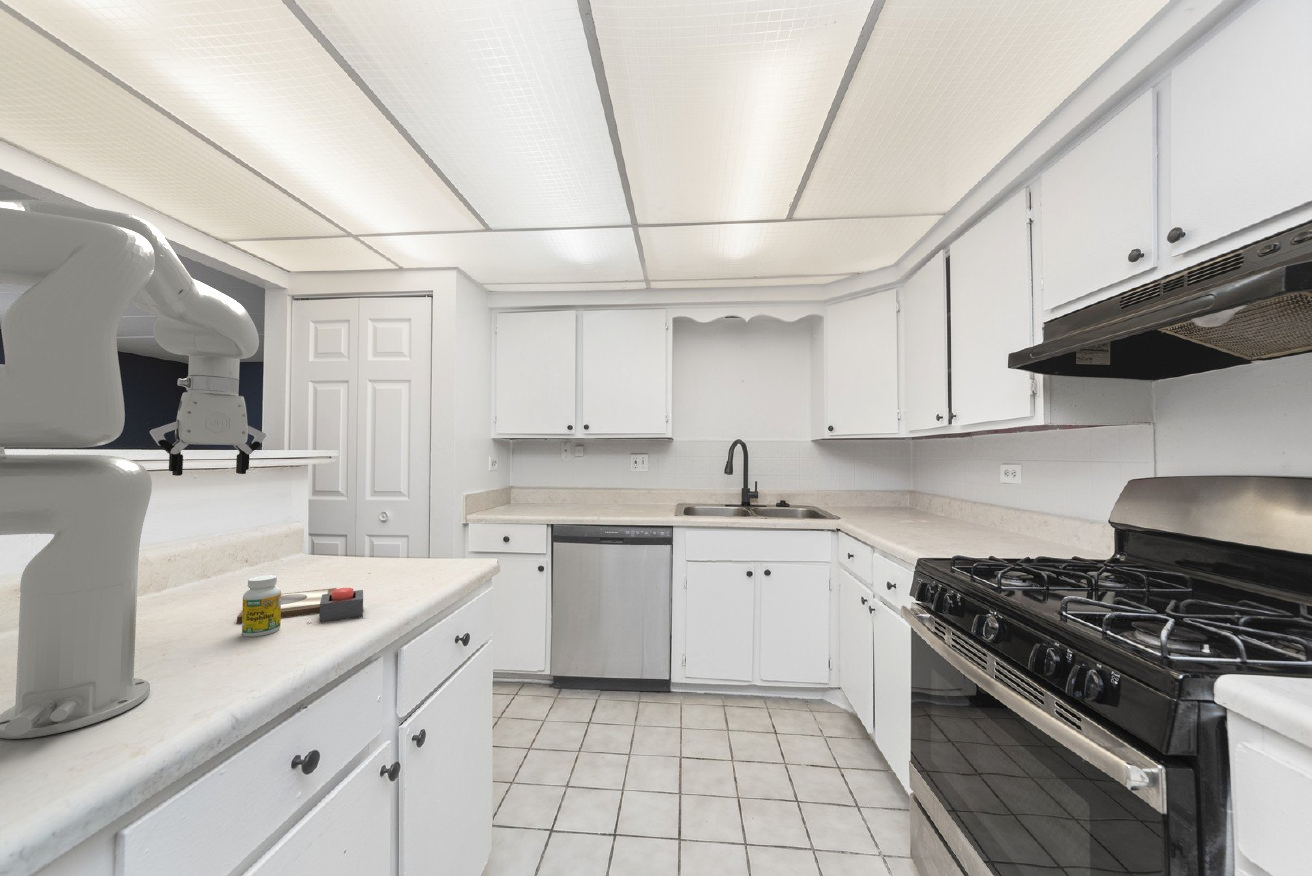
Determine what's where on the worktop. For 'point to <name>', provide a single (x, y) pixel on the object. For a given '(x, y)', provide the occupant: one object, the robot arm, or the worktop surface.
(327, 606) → the button housing
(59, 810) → the worktop surface
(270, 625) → the supplement bottle
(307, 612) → the brown bordered square board
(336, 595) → the button
